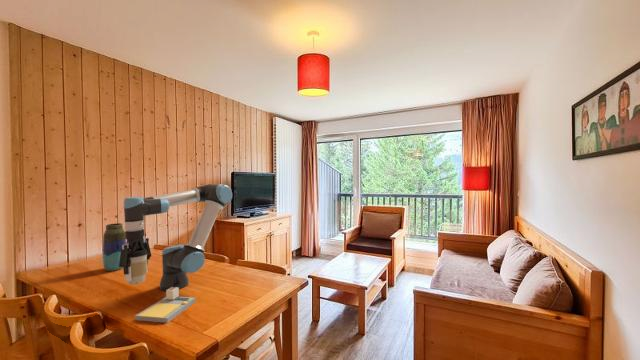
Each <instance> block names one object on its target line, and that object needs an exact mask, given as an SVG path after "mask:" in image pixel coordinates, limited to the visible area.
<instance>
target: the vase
mask: <svg viewBox="0 0 640 360" xmlns="http://www.w3.org/2000/svg"><path fill="white" fill-rule="evenodd" d="M123 227H124V226H123V223H118V222H117V223H109V224H106V225H105V231H104V233H103V236H102V257H101V259H102V266H103V268H104V269H105V270H106V271H109V272H113V271H114V270H115V271H118V270H121V269H124V268H123V267H119V262H120V254H121V247H120V246H121V245H125V244H126V243H127V239H126V238H125V232H126V230H125V228H123ZM122 265H123V264H122Z"/></svg>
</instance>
